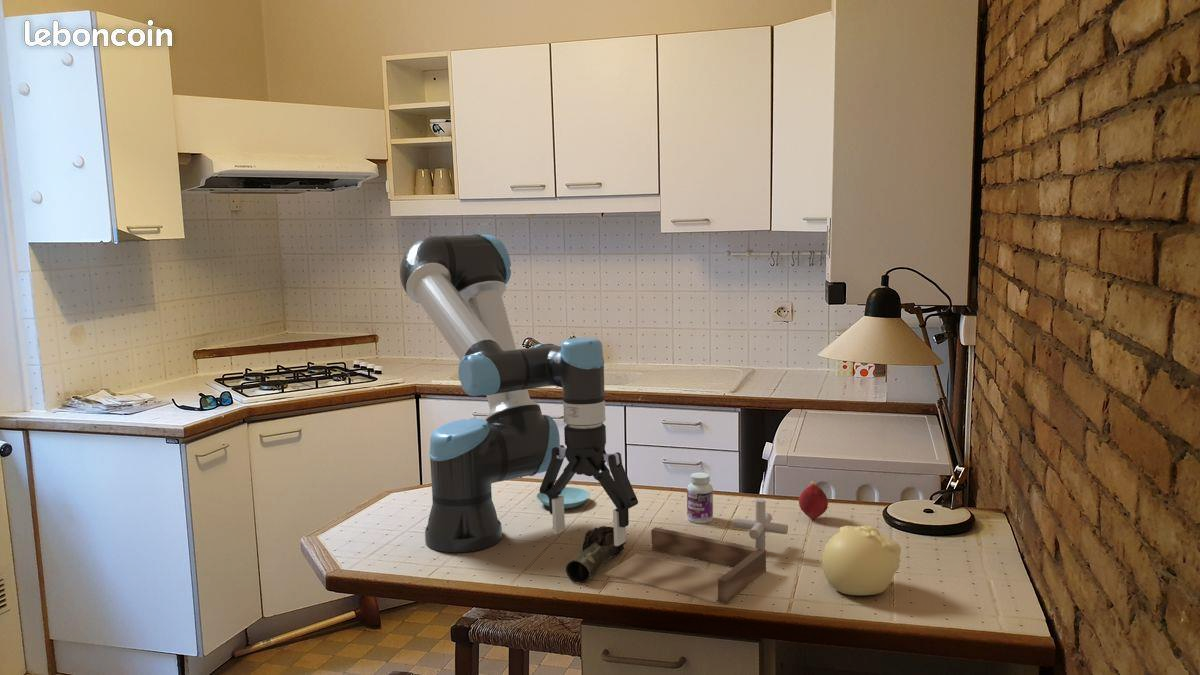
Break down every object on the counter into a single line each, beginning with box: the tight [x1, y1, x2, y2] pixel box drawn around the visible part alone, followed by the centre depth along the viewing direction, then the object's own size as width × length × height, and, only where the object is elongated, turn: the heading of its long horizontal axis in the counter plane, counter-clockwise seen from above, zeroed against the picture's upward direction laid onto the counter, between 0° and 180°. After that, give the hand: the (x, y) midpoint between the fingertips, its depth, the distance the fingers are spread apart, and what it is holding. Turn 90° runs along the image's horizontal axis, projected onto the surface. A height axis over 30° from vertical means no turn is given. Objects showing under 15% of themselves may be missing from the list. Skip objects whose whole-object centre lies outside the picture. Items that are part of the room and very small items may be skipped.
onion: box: [798, 481, 829, 520], centre depth 185 cm, size 6×6×8 cm
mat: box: [603, 553, 726, 604], centre depth 158 cm, size 22×11×1 cm, turn 56°
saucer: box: [536, 486, 591, 510], centre depth 199 cm, size 12×12×2 cm
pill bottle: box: [686, 472, 714, 524], centre depth 187 cm, size 5×5×10 cm
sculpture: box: [821, 525, 902, 596], centre depth 151 cm, size 12×12×11 cm
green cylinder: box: [564, 525, 627, 585], centre depth 164 cm, size 18×7×6 cm, turn 155°
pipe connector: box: [732, 498, 789, 550], centre depth 168 cm, size 10×10×10 cm
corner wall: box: [650, 527, 767, 605], centre depth 159 cm, size 23×16×4 cm
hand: (588, 537), depth 165 cm, fingers open, 13 cm apart
